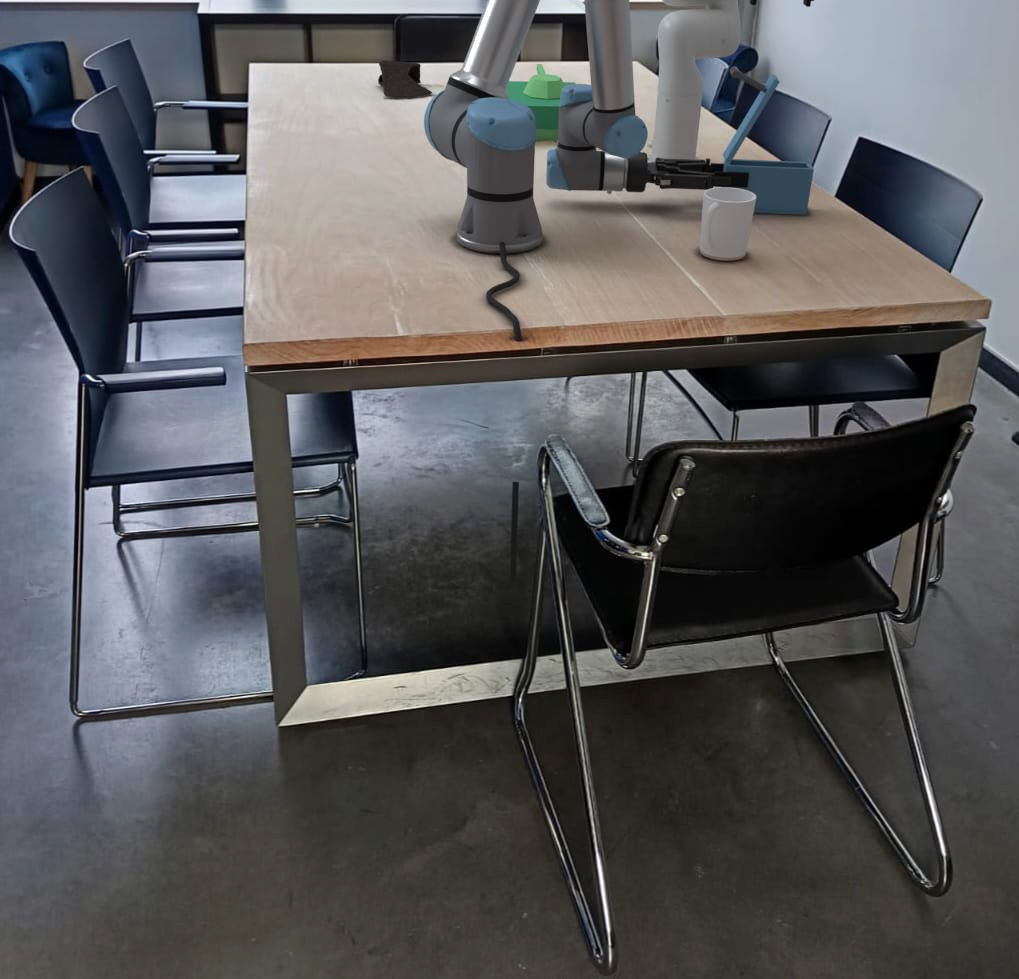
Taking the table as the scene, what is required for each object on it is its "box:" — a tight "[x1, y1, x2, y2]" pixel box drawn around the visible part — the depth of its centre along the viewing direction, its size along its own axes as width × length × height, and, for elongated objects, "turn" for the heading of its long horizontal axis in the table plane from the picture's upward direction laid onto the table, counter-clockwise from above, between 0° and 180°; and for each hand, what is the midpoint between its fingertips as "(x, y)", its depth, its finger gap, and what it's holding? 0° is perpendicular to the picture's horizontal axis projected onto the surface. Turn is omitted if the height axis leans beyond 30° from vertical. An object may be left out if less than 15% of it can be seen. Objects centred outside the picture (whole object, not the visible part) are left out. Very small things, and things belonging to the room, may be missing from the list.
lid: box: [722, 65, 780, 164], centre depth 206 cm, size 17×5×8 cm
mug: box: [699, 187, 756, 262], centre depth 189 cm, size 11×9×10 cm
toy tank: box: [506, 63, 577, 142], centre depth 266 cm, size 18×12×35 cm
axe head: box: [377, 59, 433, 99], centre depth 299 cm, size 18×8×15 cm
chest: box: [723, 158, 815, 216], centre depth 213 cm, size 16×5×9 cm, turn 85°
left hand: (745, 175), depth 212 cm, fingers closed on chest, 5 cm apart
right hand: (779, 4), depth 196 cm, fingers open, 9 cm apart
